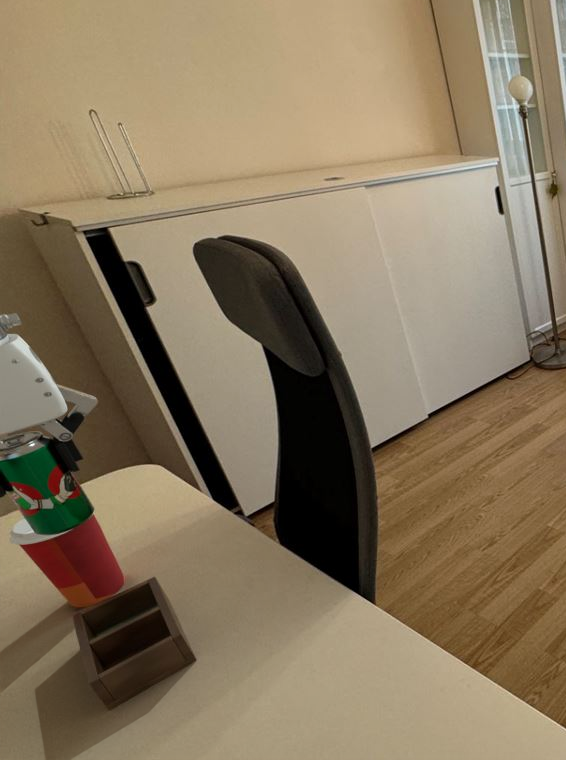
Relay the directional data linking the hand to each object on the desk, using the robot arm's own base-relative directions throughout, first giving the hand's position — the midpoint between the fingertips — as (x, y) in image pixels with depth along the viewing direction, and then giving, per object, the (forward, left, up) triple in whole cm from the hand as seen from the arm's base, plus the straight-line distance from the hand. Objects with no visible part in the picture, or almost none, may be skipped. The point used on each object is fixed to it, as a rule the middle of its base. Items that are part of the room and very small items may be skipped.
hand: (37, 478), depth 65 cm
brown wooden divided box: (+3, -5, -25) cm, 25 cm away
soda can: (0, 0, -7) cm, 7 cm away
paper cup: (-9, +9, -25) cm, 28 cm away
